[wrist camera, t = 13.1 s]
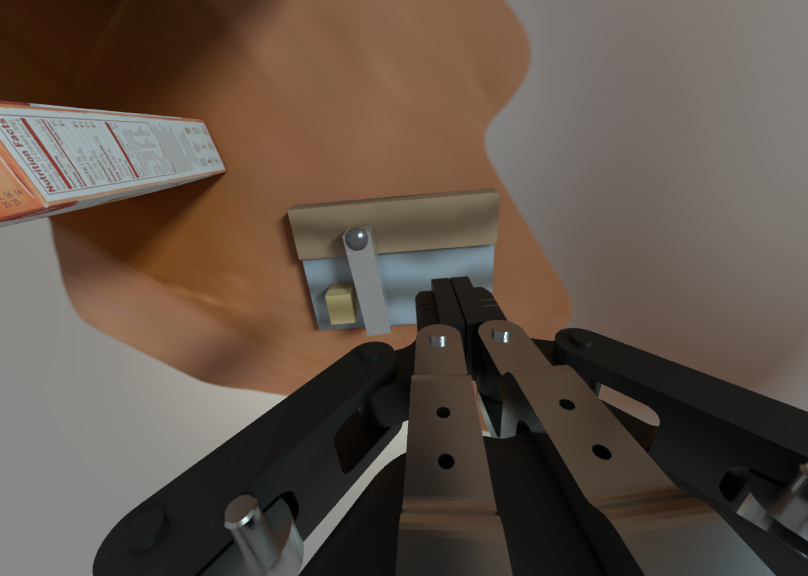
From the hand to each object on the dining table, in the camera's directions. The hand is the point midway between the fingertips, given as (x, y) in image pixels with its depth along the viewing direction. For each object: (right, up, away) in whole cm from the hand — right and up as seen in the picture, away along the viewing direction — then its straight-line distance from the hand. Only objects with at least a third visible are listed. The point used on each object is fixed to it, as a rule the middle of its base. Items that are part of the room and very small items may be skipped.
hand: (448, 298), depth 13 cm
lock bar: (-6, +2, +25) cm, 26 cm away
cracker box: (-30, +15, +23) cm, 40 cm away
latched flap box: (-2, +4, +28) cm, 28 cm away
